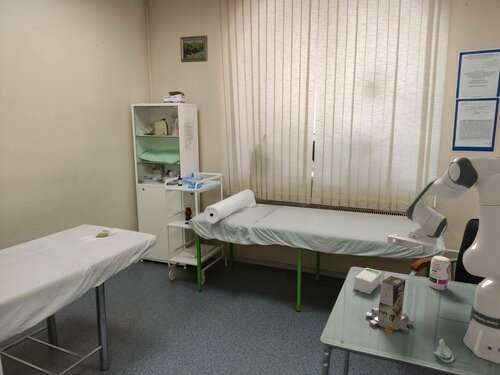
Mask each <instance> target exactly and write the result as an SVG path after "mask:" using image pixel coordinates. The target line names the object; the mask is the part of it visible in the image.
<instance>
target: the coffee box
mask: <svg viewBox="0 0 500 375" xmlns="http://www.w3.org/2000/svg"><path fill="white" fill-rule="evenodd" d="M406 282H407V281H406V279H402V278H401V277H396V276H393V275H390V276H388V277H387V278H384V280H383V279H382V280H381V282H380V293H379V303H378V309H379V310H378V319H380V320H383V321H385V322H387V323H390V324H393V323H394V322H395V321H397V320H398V319H399V318H400V317H402V313H403V306H404V298H405V297H404V296H405V291H406V288H405V287H406Z"/></svg>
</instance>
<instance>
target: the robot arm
mask: <svg viewBox="0 0 500 375" xmlns="http://www.w3.org/2000/svg"><path fill="white" fill-rule="evenodd" d="M472 187H474V188H475V189H476V190H477V191H478V219H479V220H478V230H477V233H476V235H475V238H474V241H473V242H472V244H471V245H470V246H469V247H468V248H467V249H466V250H465V251H464V252H463V256H462V264H463V266H464V269H465V270H466V271H467V272H468V273H469V274H471V275H473V276H476V277H482V278H484V279H482V281H481V282H479V283H478V285H477V286H476V288H475V294H474V298H473V300H474V301H473V304H472V306H471V308H470V312H469V318H470V319H469V321H470V322H469V325H468V329H467V330H466V333H465V334H464V337H463V339H462V341H463V344H465V346H466V347H467V348H469V349H470V350H471V351H472V353H473V354H474V355H475V356H476V357H478V358H480V359H483V360H486V361H489V362H493V363H495V364H498V365H500V156H499V157H498V156H497V157H489V156H479V155H478V156H468V157H467V156H458V157H457V158H455V159H453V160H451V162H450V164H449V165H448V167H447V168H446V170H445V172H444V173H443V175H442V176H441V178H435V179H433V180H431V181H430V182H429V183H428V184H427V185H426V186H425V187H424V188H423V189H422V191H420V193H419V194H418V196H416V198H415V199H414V200H413V201H412V203H410V204H409V205H408V206H407V208H406V210H405V214H406V218H407V219H408V220H410V221H411V222H414V223H415V224H417V225H418V226H420V227H418V228H416V229H414V230H412V231H410V232H408V233H407V234H400V233H391V234H389V235H387V237H386V238H387V240H386V243H387V244H389V245H391V246H392V247H397V246H398V247H402V248H406V249H409V250H412V251H413V252H417V253H418V252H422V253H426V254H430V255H431V254H432V255H433V254H434V253H436V250H437V244H438V239H439V238H440V237H441V236H442V235H443V234H444V233H445V232H446V230H447V228H448V225H449V224H448V218H447V217H446V216H444V215H443V214H442V213H439V212H438V211H436V210H435V209H434V208H432V207H430V206H428V205H427V203H426V202H427V201H428V200H429V199H430V197H431V196H432V197H438V198H442V199H446V200H458V199H461V198H463V197H464V196H465V195H466V194H467V193H468V192H469V190H470V189H471V188H472Z"/></svg>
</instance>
